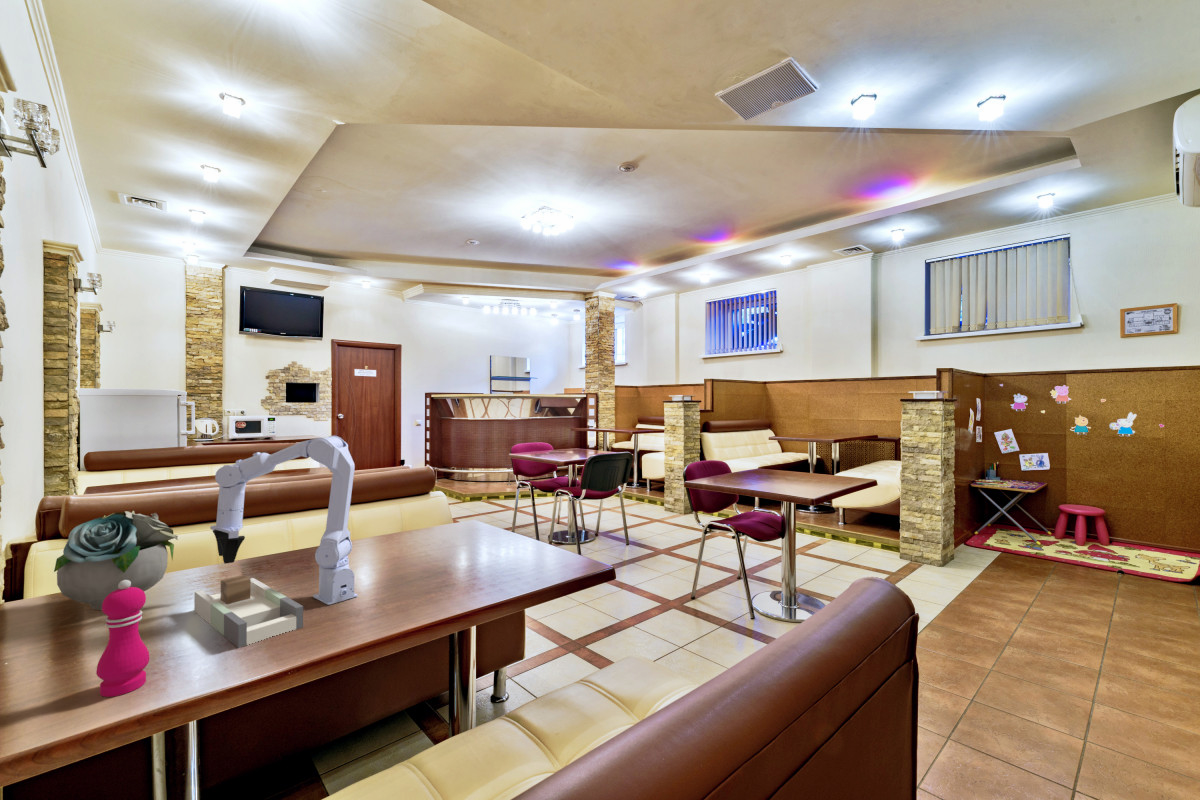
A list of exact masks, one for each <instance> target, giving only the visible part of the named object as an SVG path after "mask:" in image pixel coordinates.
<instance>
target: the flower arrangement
mask: <svg viewBox="0 0 1200 800" xmlns="http://www.w3.org/2000/svg"><path fill="white" fill-rule="evenodd" d="M150 515H151V516H149V515H145V514H142V513H135V510H132V512H131V511H126V510H125V511H124V512H122V511H121V512H119V511H118V512H113V513H111V514H109V515H107V516H106V515H105V514H104V515H103V517H102V516H100V517H98V518H94V519H92V520H89V521H86V522H83V523H81V524H78V525H77V526H75V527H74V528H73V529H72V530H71V531H70V532H69V535H68V538H67V539H68V540H67V541H66V542H65V545H64V547H63V550H62V551H63V554H61V556H59V557H56V560H55V565H54V570H53V573H56V584H57V587H58V589H59V591H60V592H61V594H62V595H63V596H64V597H66V598H69V599H70V600H72V601H75V602H77V603H84V604H89V605H90V607H91V609H93V610H95V609H99V610H98V611H102V610H101V609H102V603H103V601H104V599H105V598H106V596H107V595H109V594H110V593H111V592H113V591H115V590H117V589H119V588H118V584H119V583H120V582H121V581H123V580H129V581H130V582H131V586H130V587H137V588H139V589H141V590H143V591H144V592H145V591H146V592H147V591H148V590H150V589H151V588H153V587H154V586H155V585H156V584H158V583H159V582H160V581H162V579H163V578H164V575H165V574H166V571H167V568H168V560H169V559H168V556H169V554H168V549H167V547H169V550H170V556H171V561H172V562H173V559H174V558H173V557H174V549H175V544H174V543H173V542H171V540H173V539H175V540H177V541H178V538H179V536H178V535H176V534H174V529H172V528H171V527H169V525H167V524H166V523H165V522H162V521H161V520H159V514H158V513H157V512H154V513H151V514H150Z"/></svg>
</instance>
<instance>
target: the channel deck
mask: <svg viewBox="0 0 1200 800" xmlns="http://www.w3.org/2000/svg"><path fill="white" fill-rule="evenodd" d="M249 578H250V577H249ZM250 579H251V586H250V599H246V600H242V601H239V602H235V603H231V604H226V603H224V602H223V601H222V600H220V598H221V592H219V593H216V594H211V595H210V594H208V592H207V593H206V591H204V590H203V589H200V590H196V591H194V597H193V598H194V602H193V603H194V610H193V611H194V612H195V613H196V614H197V615H198V616H200V618H202V619H203V620H204V621H205V622H207V623H208V624H209V625H210V626H211V627H212V628H213V629H215V630H216V631H217V632H218V633H220V634H221V635H222V636H224V638H226V639H227V640H228V641H230V643H231V644H233V645H234V646H235V645H236V646H235V647H237V648H238V649H240V647H241V648H243V646H244V647H246V645H247V646H250V645H253V644H255V642H256V643H259V642H262V641H265V640H267V639H266V638H268V639H270V638H269V637H271V638H273V637H272V636H275V637H277V636H276V635H278V636H280V635H279V634H281V635H283V634H282V633H284V634H286V633H285V632H287V633H289V631H290V632H293V631H296V630H299V629H302V628H304V606H303V605H302V604H300V603H298V602H297V601H295V600H293V599H292V598H290V597H289V596H286V595H285V594H282V593H281V592H279V591H277V590H276V589H274V588H272V587H270V586H269V585H266V584H265V583H264V582H261V581H259V580H258V579H256V578H254V577H251V578H250ZM292 630H293V631H292ZM264 639H265V640H264ZM261 640H262V641H261ZM258 641H259V642H258ZM252 643H253V644H252ZM249 644H250V645H249Z"/></svg>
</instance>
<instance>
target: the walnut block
mask: <svg viewBox="0 0 1200 800" xmlns="http://www.w3.org/2000/svg"><path fill="white" fill-rule="evenodd" d="M250 586H251V579H250V577H248V576H246V575H245V574H242V575H237V576H233V577H229V578H225V579H220V593H221V598H220V600H222V601H223V602H224V603H226V604H231V603H235V602H239V601H242V600H246V599H250Z"/></svg>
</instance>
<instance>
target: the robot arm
mask: <svg viewBox="0 0 1200 800" xmlns="http://www.w3.org/2000/svg"><path fill="white" fill-rule="evenodd" d="M300 457H304V458H310V459H312V460H313V461H316V462H317V463H319V464H322V465H324V466H325V467H327V469H329V471H330V472H331V473H332V476H331V477H332V478H331V483H330V484H331V486H330V493H329V501H328V502H329V503H328V508H327V509H328V510H327V516H326V525H325V530H324V532H323V534H322V537H321V539H320V544H319V546H318V548H317V549H316V550H315V553H314V558H315V562H316V563H317V564H318V565H319V566H318V570H319V571H318V580H319V581H318V589H319V590H318V593H316V594H312V597H313V598H314V599H316V600H318V601H319V602H322V603H323V604H326V605H327V606H328V605H330V606H331V605H332V604H333V605H334V604H336V603H340V602H343V601H347V600H351V599H353V598H356V597H358V596H359V595H358V593H356V592H355V573H354V571H353V569H352V568H350V558H349V555H350V554H351V552H352V550H353V543H352V540H351V531H350V530H349V529H348V526H349V519H350V509H351V502H352V491H353V484H354V483H353V482H354V478H355V477H354V476H355V468H356V466H355V465H356V464H355V462H354V460H353V457H352V455H351V453H350V450H349V443H347V441H346V440H345V441H344V439H343V438H342V437H340V436H337V435H330V436H324V437H315V438H313V439H309V440H308V439H307V440H304V441H300V442H298V443H295V444H292V445H290V446H288V447H285V448H283V449H281V450H279V451H276V452H274V453H271V454H269V453H268V452H259V451H257V452H254V453H252V456H251V457H248V458H245V459H238V460H236V461H235V463H234V464H225V465H223V466H222V467H220V468H218V469H217V471H216V472H215V476H214V478H215V482H216V483H217V484H218V487H219V489H218V499H217V512H216V522H215V523H216V524H215V525H210V528H209V529H210V530H211V531H212V532H213V534H214V537H215V540H216V545H217V553H218V555H219V557H222V561H223V564H224V565H225V564H234V563H235V561H236V558H237V555H238V552H239V549H240V547H241V545H242V544H243V541H245V539H246V537H245V535H240V533H239V532H240V531H241V530H242V528H243V527H244V524H243V519H244V508H245V507H244V506H245V494H246V488H247V487H246V486H247V483H248V482H249V481H251V480H254V479H257V478H259V477H261V476H264V475H266V474H269V473H271V472H273V471H275V468H276V466H277V465H280V464H283V463H286V462H288V461H291V460H294V459H297V458H300Z"/></svg>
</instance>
